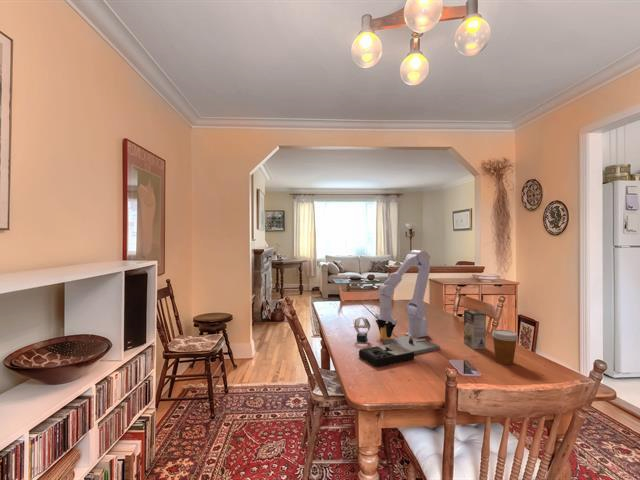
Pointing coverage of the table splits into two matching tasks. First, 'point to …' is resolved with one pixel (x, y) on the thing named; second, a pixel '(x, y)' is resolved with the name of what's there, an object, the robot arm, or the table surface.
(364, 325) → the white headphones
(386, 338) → the orange cap
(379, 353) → the multimeter
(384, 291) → the robot arm
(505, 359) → the disposable coffee cup
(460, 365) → the mobile phone
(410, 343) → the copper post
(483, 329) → the coffee box
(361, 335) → the watch
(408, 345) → the board
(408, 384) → the table surface
